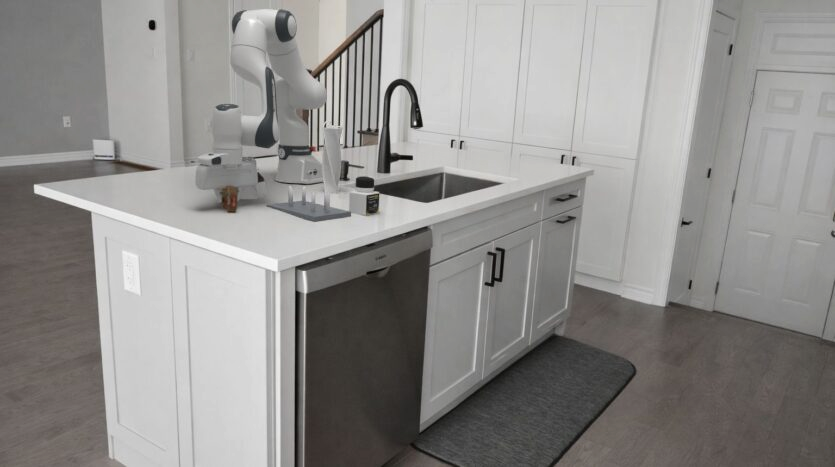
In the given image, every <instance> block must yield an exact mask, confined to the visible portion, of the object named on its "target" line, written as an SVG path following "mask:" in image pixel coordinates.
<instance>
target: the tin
mask: <svg viewBox="0 0 835 467" xmlns="http://www.w3.org/2000/svg"><path fill="white" fill-rule="evenodd" d="M220 193H221V195H222V197H225V202H224V203H220V204H221V206H222V207H223V208H224V209H225V210H226V211H227V213H236V212H237V209H238V206H237V204H238V201H237V196H238V195H237V189H236V188H235V187H234V186H227V188H222V192H220Z"/></svg>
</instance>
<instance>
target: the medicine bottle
mask: <svg viewBox="0 0 835 467" xmlns="http://www.w3.org/2000/svg"><path fill="white" fill-rule="evenodd" d="M348 197H349V199H348V200H349V202H348V204H349V205H348V211H350V212H351V214H356V215H358V216H359V215H360V216H364V217H367V216H368V217H369V216H371V215H376V214H379V213H380V212H379V211H380V191H375V178H373V176H366V175H365V176H363V175H362V176H357V177H356V178H355V190H353V191H349V196H348Z"/></svg>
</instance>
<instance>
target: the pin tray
mask: <svg viewBox="0 0 835 467" xmlns="http://www.w3.org/2000/svg"><path fill="white" fill-rule="evenodd" d="M301 189H302V190H301V200H297V201H294V187H293V185H288V196H287V197H288V199H287V200H288V201H286V202H279V203H270V204H266V205H265V206H266V207H267V208H270V209H273V210H277V211H279V212H283V213H286V214H288V215H291V216H294V217H297V218H300V219H303V220H306V221H311V222H315V223H316V222H321V221H328V220H334V219H341V218H348V217H351V216H352V213H351V212H350V211H349V210H345V209H342V208H341V209H340V208H337V207H332V206H330V205H331V193H328V191H324V190H323V192H324V193H323V194H324V195H323V196H324V197H323V204H318V203H316V192H315V191H313V192H311V202H310V201H307V198H306V197H307V186H302V187H301Z"/></svg>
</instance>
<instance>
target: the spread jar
mask: <svg viewBox="0 0 835 467" xmlns="http://www.w3.org/2000/svg"><path fill="white" fill-rule="evenodd" d="M256 169H257V175H258V183H257V184H256V185H255V186H245V187H242V191H241V193H240V195H239V200H238V201H240V200H255V201H257V199H258V198H261V197H262V198H263V197H264V196H265V194H266V184H265V183H266V180H265V178H264V176H263V175H262V174H261V173H260V167H259V166H256Z"/></svg>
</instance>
